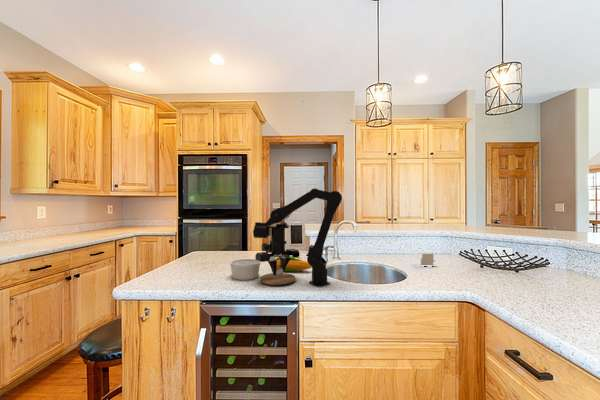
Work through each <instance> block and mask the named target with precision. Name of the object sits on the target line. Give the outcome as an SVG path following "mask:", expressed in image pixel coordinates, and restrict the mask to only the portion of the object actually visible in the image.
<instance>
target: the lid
mask: <svg viewBox="0 0 600 400" xmlns="http://www.w3.org/2000/svg"><path fill="white" fill-rule="evenodd" d="M259 279H260V280H259V281H260V282H261V284H266V285H269V286H270V285H271V286H283V285H290V284H291V283H294V282H295V281H296V276H295V275H294V274H292V273H286V272H283V268H281V267H276V276H274V275H273V272H272V273H267V274H264V275H262V276H260V277H259Z"/></svg>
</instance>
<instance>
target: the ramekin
mask: <svg viewBox="0 0 600 400" xmlns="http://www.w3.org/2000/svg"><path fill="white" fill-rule="evenodd" d="M260 266H261V262H260V261H258V260H256V259H255V258H239V259H234V260H232V261H230V270H231V276H232V278H233V279H234V280H235V281H236V280H237V281H250V280H253V279H254V280H255V279H256V278H258V276H259V273H260Z"/></svg>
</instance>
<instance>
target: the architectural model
mask: <svg viewBox="0 0 600 400" xmlns="http://www.w3.org/2000/svg"><path fill="white" fill-rule="evenodd" d="M421 255H422V257H421V258H420V259H419V260H420V266H421V265H433V266H434V262H436V260H435V259H434V253H428V252H427V253H422V254H421Z"/></svg>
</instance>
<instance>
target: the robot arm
mask: <svg viewBox="0 0 600 400" xmlns="http://www.w3.org/2000/svg"><path fill="white" fill-rule="evenodd" d="M342 196H343V195H342V194H341V193H340V192H339V191H338V190H333V191H326V190H321V189H319V188H316V187H315V188H312V189H311V190H309V191H307V192H306V193H304V194H303V195H302V196H300V197H298V198H297V199H295V200H293V201H292V202H290V203H288V204H286V205H284V206H280V207H277V208H276V209H273V210H272V211H271V212H270V213H269V214H270V215H269V219H268V220H267V221H266V222H260V221H256V222H255V224H254V227H253V230H252V234H253V235H252V236H253V238H254V239H269V237H271V240H269V244H268V243H267V242H263V243H261V252H256V254H255V258H254V259H256V260H258V261H260V263H261V262H262V263H264V262H268V264H269V266H270V269H271V271H272V273H273V275H274V276H276V266H277V261H276V260H275V259H276V258H278V257H279V258H280V267H281V268H283V273H285V271H284V270H285V268H286V266H287V264H288V262H289V261H290V260H291V258H290V256H293V257H300V251H299V250H298V249H296V248H288V249H286V244H287V240H286V229H289V228H290V225H289V224H288V223H287V222H286V221H285V220H286V219H287V218H289V216H291V215H292V213H294V212H295V211H297V210H299V209H301V208H302V207H303V206H305V205H307V204H309V203H311V202H312V201H313V200H315V199H320V200H323V201H326V206H325V213H324V216H323V219H322V221H321V225H320V227H319V230H318V233H317V236H316V240H315V242H314V244H310V245H309V247H308V252H307V254H306V255H305V257H307V258H306V261H307V262H308V263H309V265H311V266H312V267H311V280H309V282H308V283H309V284H311V285H314V286H315V287H321V286H327V285H330V284H331V282H329V281H328V269H327V264H328V261H327V260H326V259H325V258H324V257H323V253H324V246H325V243H326V239H327V236H328V233H329V230H330V227H331V225H332V222H333V218H334V215H335V213H336V212H337V210H338V208H339V206H340V204H341V202H342V200H343V197H342ZM284 221H285V222H284ZM282 222H283V223H282ZM275 224H276V225H275Z"/></svg>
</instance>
